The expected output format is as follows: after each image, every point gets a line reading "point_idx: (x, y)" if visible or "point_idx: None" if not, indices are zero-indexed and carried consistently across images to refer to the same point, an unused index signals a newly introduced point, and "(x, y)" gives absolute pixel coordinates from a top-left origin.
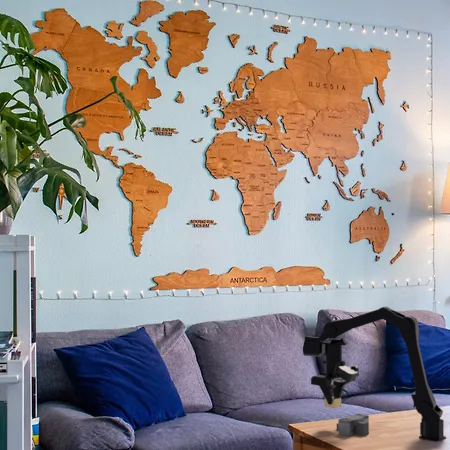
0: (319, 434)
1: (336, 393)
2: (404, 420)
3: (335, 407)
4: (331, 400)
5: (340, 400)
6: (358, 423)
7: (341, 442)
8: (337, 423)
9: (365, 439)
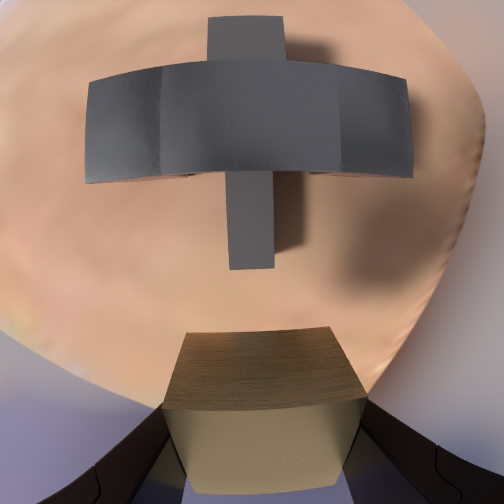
0: (412, 261)
1: (166, 498)
2: None
3: (311, 332)
4: (365, 411)
5: (191, 381)
6: (285, 56)
7: (449, 97)
8: (266, 266)
9: (328, 22)
